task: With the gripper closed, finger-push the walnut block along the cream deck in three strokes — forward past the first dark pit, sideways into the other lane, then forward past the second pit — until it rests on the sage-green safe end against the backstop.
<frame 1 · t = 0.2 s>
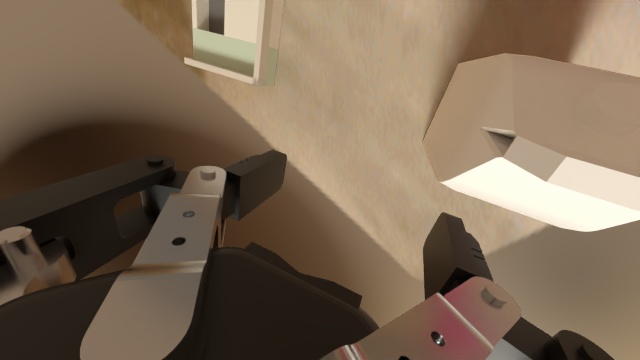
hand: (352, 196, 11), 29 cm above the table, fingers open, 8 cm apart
milk: (481, 117, 32), on the table
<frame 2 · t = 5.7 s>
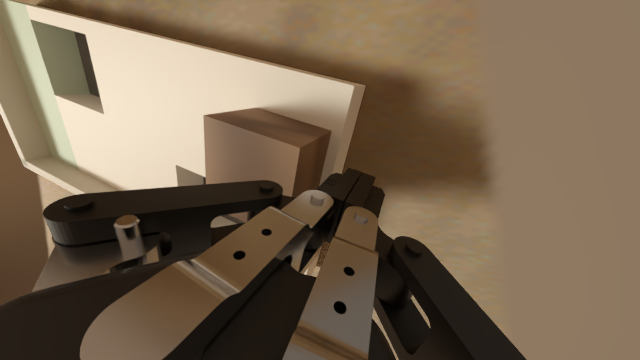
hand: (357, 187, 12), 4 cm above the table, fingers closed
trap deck: (171, 132, 22), on the table
block: (286, 157, 14), point 3 cm above the table, touching gripper, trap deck
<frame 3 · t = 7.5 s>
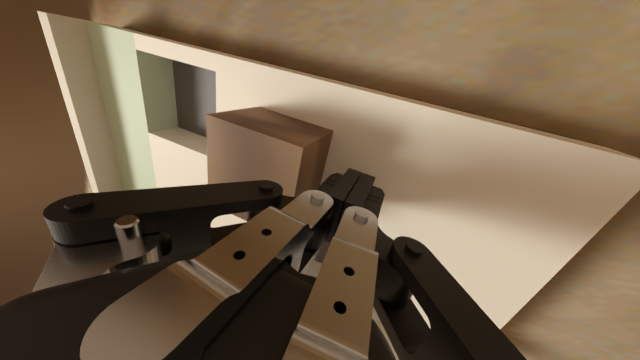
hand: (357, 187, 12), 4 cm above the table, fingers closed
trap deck: (282, 175, 19), on the table
block: (288, 156, 14), point 3 cm above the table, touching gripper, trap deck
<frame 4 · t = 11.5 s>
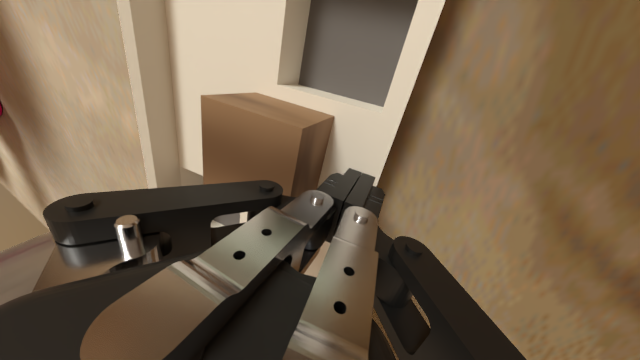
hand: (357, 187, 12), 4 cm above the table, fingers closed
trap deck: (280, 136, 17), on the table
block: (287, 145, 14), point 3 cm above the table, touching gripper
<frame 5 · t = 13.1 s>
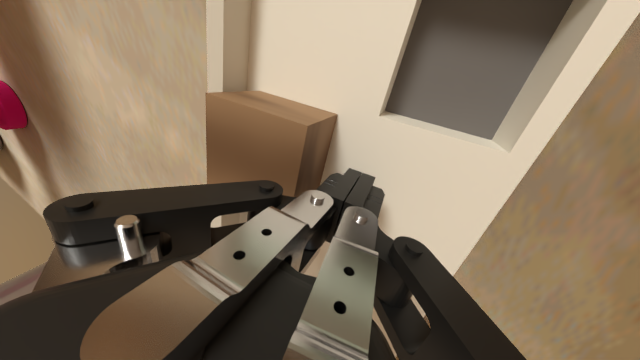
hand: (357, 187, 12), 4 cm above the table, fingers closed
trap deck: (352, 163, 16), on the table
pepper mill: (13, 104, 31), on the table
block: (289, 143, 14), point 3 cm above the table, touching gripper, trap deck
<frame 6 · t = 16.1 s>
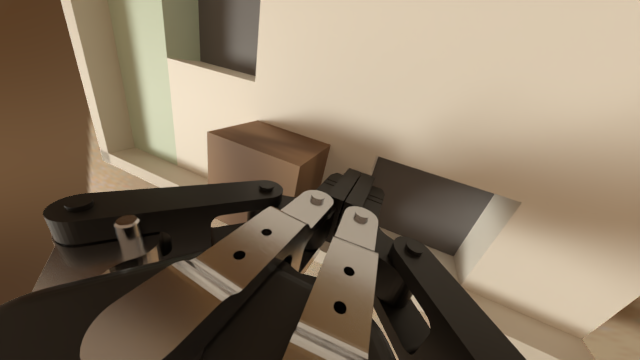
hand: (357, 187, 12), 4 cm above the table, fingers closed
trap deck: (330, 111, 15), on the table
block: (286, 168, 15), point 3 cm above the table, touching gripper
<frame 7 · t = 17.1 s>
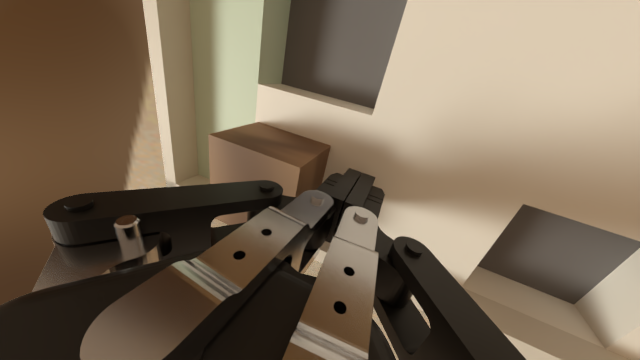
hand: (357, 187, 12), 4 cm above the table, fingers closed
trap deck: (438, 143, 14), on the table
block: (287, 169, 15), point 3 cm above the table, touching gripper, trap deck
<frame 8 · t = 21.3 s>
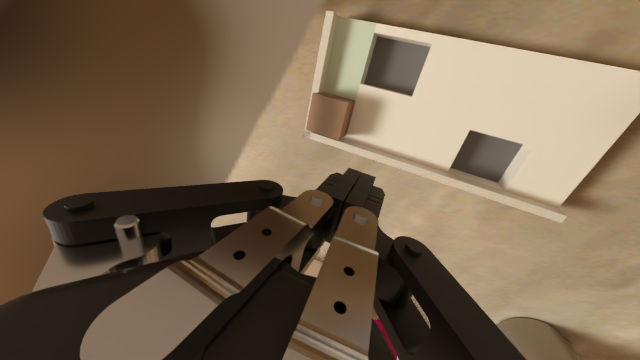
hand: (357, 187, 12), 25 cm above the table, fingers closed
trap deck: (438, 110, 31), on the table
pepper mill: (381, 329, 51), on the table
block: (335, 113, 33), point 3 cm above the table, touching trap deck
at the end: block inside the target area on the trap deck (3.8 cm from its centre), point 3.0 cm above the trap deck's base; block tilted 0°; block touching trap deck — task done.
